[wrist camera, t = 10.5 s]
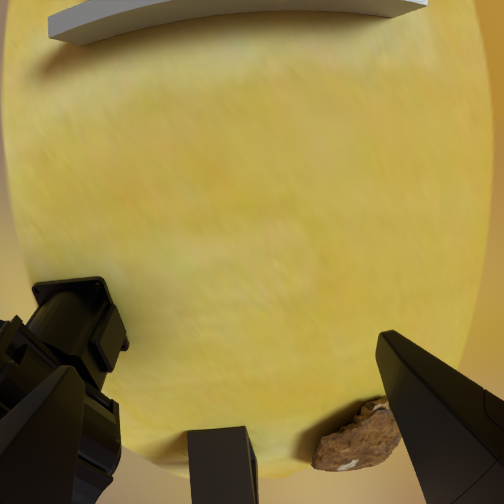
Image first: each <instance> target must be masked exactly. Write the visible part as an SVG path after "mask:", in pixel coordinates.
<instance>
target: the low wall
mask: <svg viewBox="0 0 504 504" xmlns="http://www.w3.org/2000/svg"><path fill="white" fill-rule="evenodd" d="M426 6H428V0H89V1H86V2H84V3H81V4H78V5H76V6H73V7H71V8H68V9H66V10H63V11H61V12H58V13H56V14H54V15H51V16H49V17H48V34H49V38H50V39H55V40H59V41H64V42H68V43H72V44H76V45H80V46H84V45H87V44H90V43H93V42H96V41H100V40H103V39H106V38H109V37H113V36H116V35H120V34H123V33H127V32H131V31H135V30H139V29H143V28H147V27H152V26H156V25H161V24H166V23H171V22H176V21H182V20H187V19H194V18H200V17H207V16H215V15H224V14H233V13H245V12H260V11H332V12H347V13H358V14H368V15H376V16H383V17H390V18H395V17H397V16H400V15H403V14H406V13H408V12H411V11H414V10H417V9H420V8H423V7H426Z"/></svg>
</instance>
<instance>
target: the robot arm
mask: <svg viewBox="0 0 504 504" xmlns="http://www.w3.org/2000/svg"><path fill="white" fill-rule="evenodd" d="M96 283H99V284H100V285H101V286H99V285H97V284H96ZM32 292H33V294H34V296H35V298H36V301H37V303H38V305H39V306H38V308H37V309H36V311H35V312H34V314H33V315H32V316H31V318H30V319H29V321H28V322H27V324H26V325H24V324H23V323H22V322H23V321H22V320H21V319H20V318H19V317H18V316H17V315H16V316H15V317H14V318H13V319H12V320H11V321H3V320H0V504H95V503H96V501H97V499H98V498H99V496H100V495H101V493H102V492H103V491H104V490H105V489H106V487H107V486H109V485H110V484H111V483H112V481H113V477H112V475H113V473H114V472H115V470H116V468H117V467H118V464H119V461H120V457H121V435H120V418H119V404H118V403H117V402H116V401H114V400H113V399H109V398H108V397H107V396H105V395H104V394H103V393H101V390H102V387H103V384H104V381H105V378H106V375H107V373H112V371H113V370H114V367H115V364H116V361H117V358H118V355H119V352H120V351H127V350H128V348H129V345H130V344H129V341H128V339H127V336H126V330H125V327H124V325H123V322H122V320H121V317H120V315H119V312H118V309H117V307H116V305H115V304H113V301H112V298H111V296H110V293H109V290H108V287H107V285H106V282H105V280H104V279H103V278H101V277H87V278H78V279H68V280H59V281H49V282H40V283H35V284H34V286H33V287H32ZM122 344H123V345H122ZM375 356H376V362H377V365H378V368H379V372H380V375H381V379H382V382H383V385H384V389H385V393H386V396H387V400H388V403H389V406H390V408H391V411H392V413H393V416H394V418H395V421H396V423H397V426H398V428H399V431H400V433H401V436H402V438H403V441H404V443H405V446H406V449H407V451H408V454H409V456H410V459H411V462H412V464H413V467H414V470H415V472H416V475H417V478H418V480H419V483H420V486H421V489H422V492H423V494H424V497H425V500H426V503H427V504H504V401H503V400H502V399H500V398H498V397H497V396H495V395H493V394H492V393H490V392H489V391H487V390H486V389H483V387H481V386H480V385H478V384H477V383H475V382H473V381H472V380H470V379H469V378H467V377H466V376H464V375H463V374H461V373H460V372H458V371H457V370H455V369H454V368H452V367H451V366H449V365H447V364H446V363H444V362H443V361H441V360H440V359H438V358H437V357H435V356H434V355H432V354H430V353H429V352H427V351H426V350H424V349H423V348H421V347H420V346H418V345H417V344H415V343H413V342H412V341H410V340H409V339H407V338H406V337H404V336H403V335H401V334H399V333H398V332H396V331H395V330H388V331H384V332H381V333H380V334H379V336H378V341H377V347H376V353H375Z"/></svg>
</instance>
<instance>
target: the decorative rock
mask: <svg viewBox="0 0 504 504" xmlns="http://www.w3.org/2000/svg"><path fill="white" fill-rule="evenodd" d="M353 420H354V422H353V423H352V424H349V425H347V426H341V428H340V431H339V432H338V431H337V432H336V433H333V434H331V435H329V436H324V437H322V438H321V442H320V443H319V447H318V449H317V452H316V453H315V454H314V456H313V459H312V464H311V466H312V467H313V468H314V469H317V470H325V471H333V472H338V471H350V470H357V469H361V468H364V467H372V466H375V465H377V464H380V463H382V462H383V461H385V460H386V459H387V458H388V457H389V455H390V454H391V453H392V450H393V449H394V448H395V447H396V446H398V444H399V442H400V440H401V437H402V436H401V433H400V431H399V428H398V426H397V423H396V421H395V418H394V416H393V413H392V411H391V408H390V406H389V403H388V400H387V398H386V397H385V396H384V397H383V398H379V399H377V400H376V401H369V402H367V403H366V404H364V405H363V406H362V408H361V413H360V415H359V416H358V417H357V415H356V416H355V417H354V418H353Z"/></svg>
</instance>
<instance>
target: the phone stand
mask: <svg viewBox="0 0 504 504" xmlns="http://www.w3.org/2000/svg"><path fill="white" fill-rule="evenodd" d="M187 438H188V456H189V472H190V484H191V485H190V486H191V497H192V504H259V495H258V466H257V459H256V456H255V453H254V450H253V447H252V444H251V441H250V438H249V435H248V432H247V429H246V426H245V427H236V428H226V429H214V430H199V431H188V432H187Z"/></svg>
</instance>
